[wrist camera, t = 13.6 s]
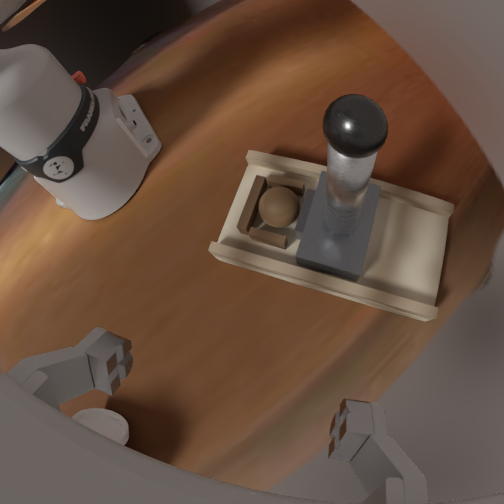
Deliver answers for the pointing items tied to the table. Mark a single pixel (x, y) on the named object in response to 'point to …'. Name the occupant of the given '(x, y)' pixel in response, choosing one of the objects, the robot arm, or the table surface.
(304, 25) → the table surface
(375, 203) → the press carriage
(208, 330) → the table surface
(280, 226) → the walnut
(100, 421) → the spread jar
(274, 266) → the press base
